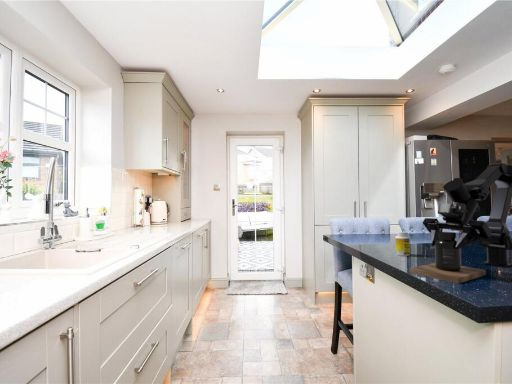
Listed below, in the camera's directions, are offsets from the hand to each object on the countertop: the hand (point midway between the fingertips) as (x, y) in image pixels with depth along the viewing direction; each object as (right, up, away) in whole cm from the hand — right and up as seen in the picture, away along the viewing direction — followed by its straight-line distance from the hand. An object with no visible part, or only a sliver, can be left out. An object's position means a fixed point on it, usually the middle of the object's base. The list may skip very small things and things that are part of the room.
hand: (443, 246), depth 88 cm
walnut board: (+1, -9, 0) cm, 9 cm away
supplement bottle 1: (+4, -10, +32) cm, 34 cm away
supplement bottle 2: (+1, -8, 0) cm, 8 cm away
